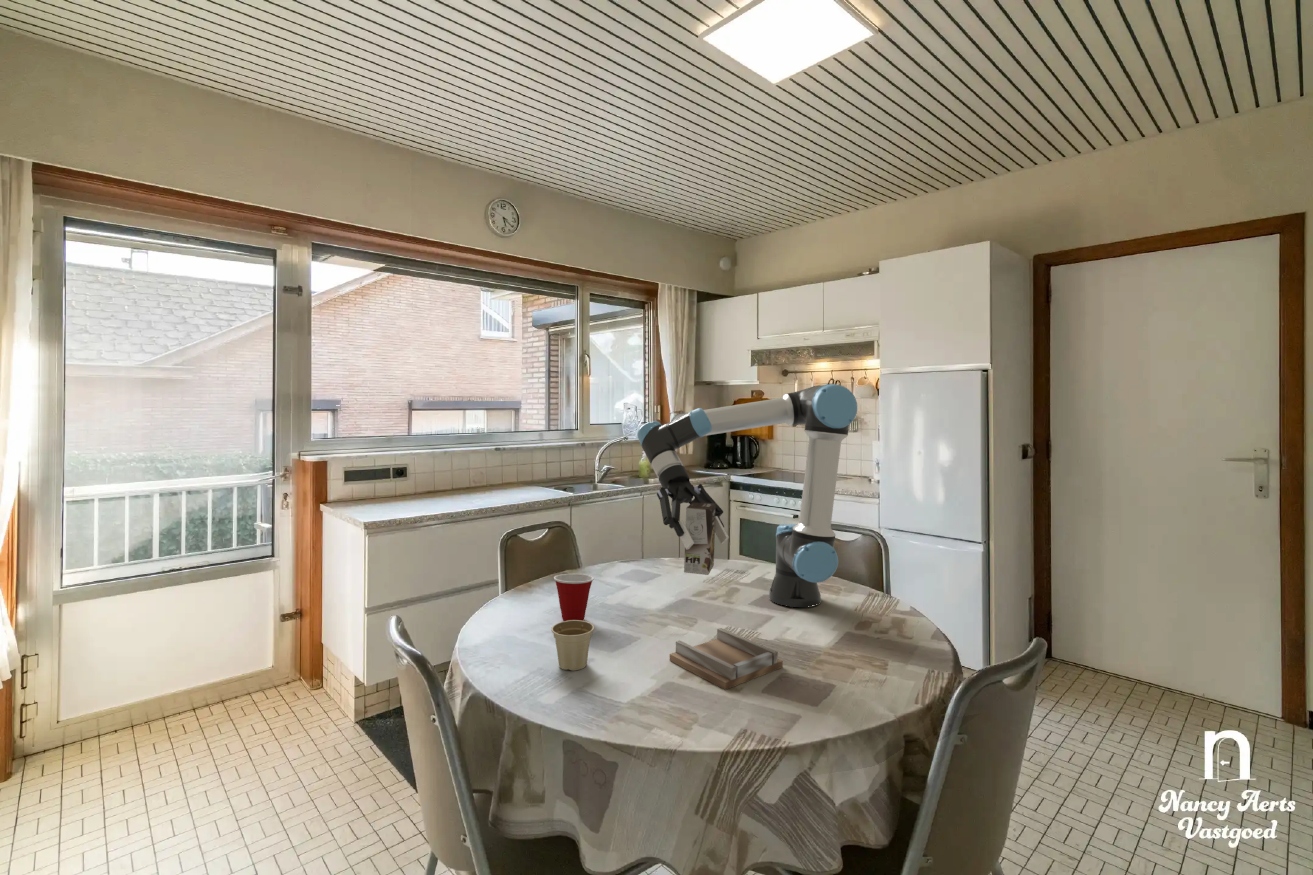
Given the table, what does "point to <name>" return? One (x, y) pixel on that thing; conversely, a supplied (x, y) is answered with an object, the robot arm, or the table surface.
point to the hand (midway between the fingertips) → (708, 543)
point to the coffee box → (700, 538)
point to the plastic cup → (573, 595)
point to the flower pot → (572, 643)
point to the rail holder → (727, 659)
